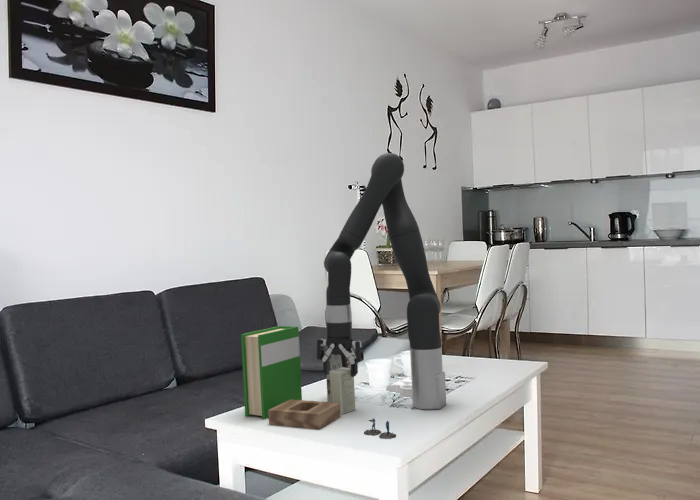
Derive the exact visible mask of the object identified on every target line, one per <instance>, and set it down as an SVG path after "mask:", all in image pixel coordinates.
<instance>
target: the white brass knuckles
mask: <svg viewBox="0 0 700 500" xmlns="http://www.w3.org/2000/svg"><path fill="white" fill-rule="evenodd" d="M385 390H386V392H387V391H389V392H396V393H400V394H399V396H400V395H401V396H403V397H412V379H411V376H410V377H409V376H408V377H405V378H403V379H402V380H398V381H396V382H394V383H392V384H391V383H390V384H389V385H386V388H385ZM401 396H400V397H401Z"/></svg>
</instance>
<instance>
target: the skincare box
mask: <svg viewBox="0 0 700 500" xmlns="http://www.w3.org/2000/svg"><path fill="white" fill-rule="evenodd" d="M329 376H330V397H331V402H332V403H340V415H343V414H346V413H349V412H352V411H354V410H356V393H355V377H351V368H345V367H342V368H339V369H335V370H332V371H329Z"/></svg>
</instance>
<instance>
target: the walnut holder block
mask: <svg viewBox="0 0 700 500" xmlns="http://www.w3.org/2000/svg"><path fill="white" fill-rule="evenodd" d="M268 415H269V418H268V425H269V424H270V425H271V426H280V427H291V428H302V429H308V430H309V429H310V430H321V429H323V428H325V427H327V426H329V425H330V424H332V423H333V422H335V421H336V420H338V419H340V418H341V414H340V403H332V402H327V401H315V400H303V399H302V400H293V399H291V400H288V401H286V402H284V403H282V404H280V405H278V406H276V407H274V408H272V409H269V410H268Z"/></svg>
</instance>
